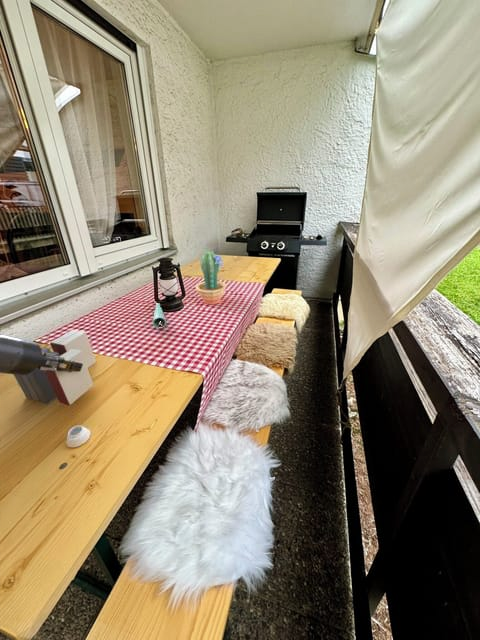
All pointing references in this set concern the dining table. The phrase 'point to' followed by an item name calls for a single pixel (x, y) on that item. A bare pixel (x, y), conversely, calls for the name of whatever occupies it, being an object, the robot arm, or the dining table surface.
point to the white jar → (77, 436)
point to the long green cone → (158, 317)
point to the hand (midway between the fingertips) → (74, 366)
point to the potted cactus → (211, 279)
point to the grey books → (37, 383)
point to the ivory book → (70, 379)
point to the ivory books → (75, 345)
